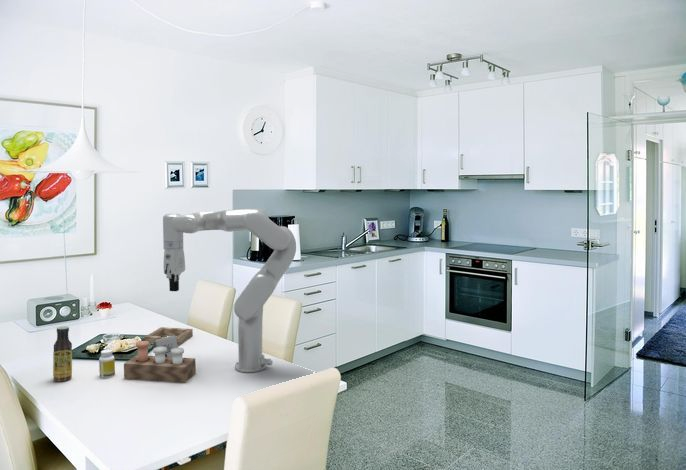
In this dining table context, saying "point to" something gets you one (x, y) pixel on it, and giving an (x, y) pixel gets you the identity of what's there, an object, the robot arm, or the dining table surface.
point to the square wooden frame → (170, 334)
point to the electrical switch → (167, 344)
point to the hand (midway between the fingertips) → (174, 290)
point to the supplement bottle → (106, 364)
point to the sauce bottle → (62, 356)
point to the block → (160, 370)
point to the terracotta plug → (142, 351)
